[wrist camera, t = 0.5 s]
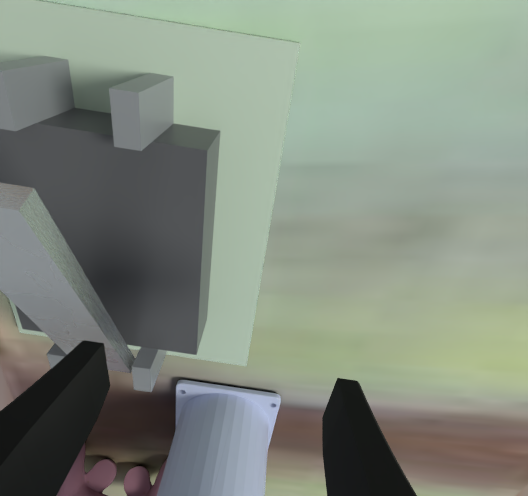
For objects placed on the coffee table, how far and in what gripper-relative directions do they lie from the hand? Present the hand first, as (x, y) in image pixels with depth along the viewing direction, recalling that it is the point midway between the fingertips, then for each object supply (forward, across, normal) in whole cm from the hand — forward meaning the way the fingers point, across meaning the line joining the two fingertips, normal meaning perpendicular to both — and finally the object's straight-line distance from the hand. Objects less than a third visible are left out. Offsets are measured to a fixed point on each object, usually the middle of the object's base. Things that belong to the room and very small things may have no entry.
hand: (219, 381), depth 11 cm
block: (+4, +7, +1) cm, 8 cm away
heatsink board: (+10, +7, +1) cm, 12 cm away
